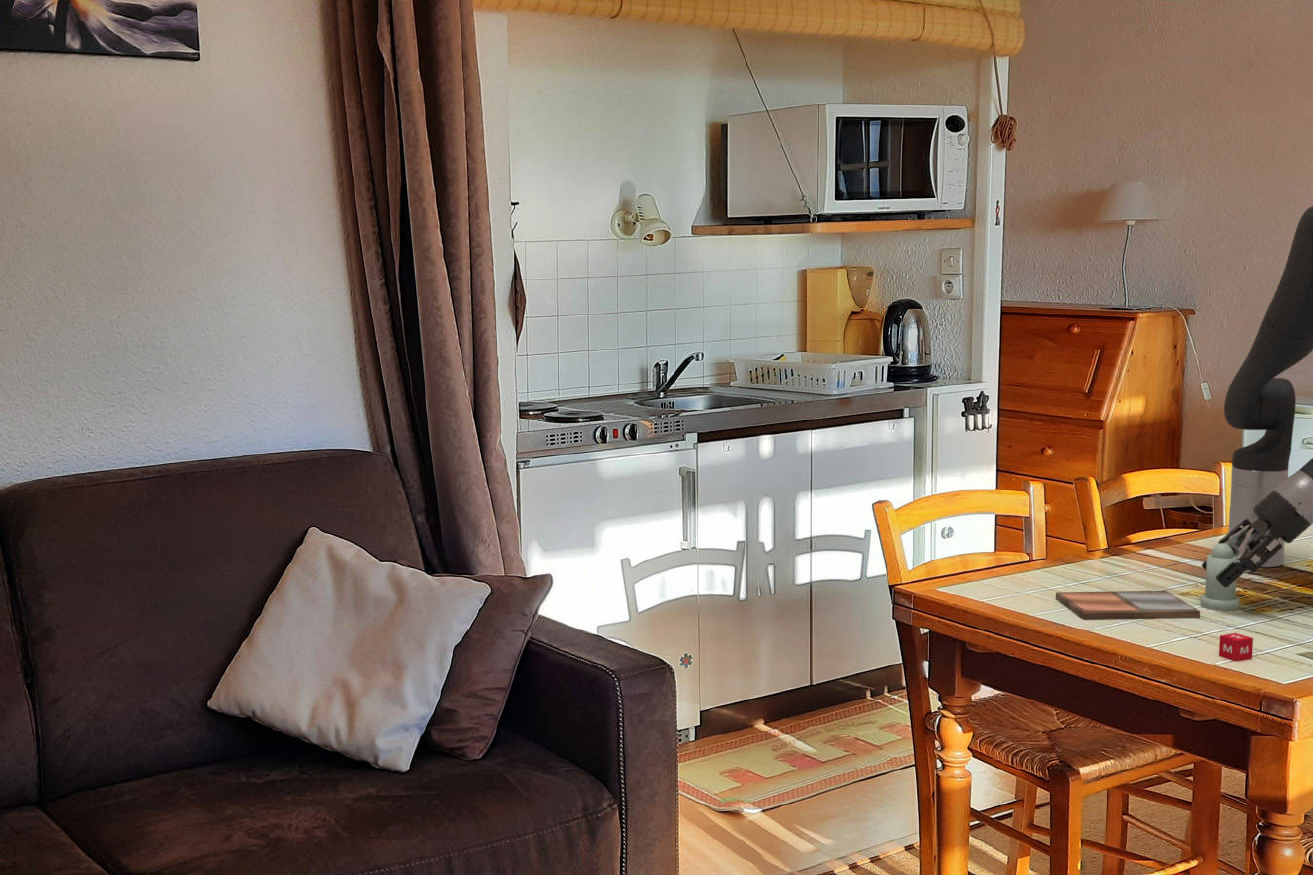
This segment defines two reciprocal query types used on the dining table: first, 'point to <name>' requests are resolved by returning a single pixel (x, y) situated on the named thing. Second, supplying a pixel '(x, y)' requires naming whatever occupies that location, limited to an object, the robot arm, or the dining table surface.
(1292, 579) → the dining table surface
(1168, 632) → the dining table surface
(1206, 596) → the pawn
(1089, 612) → the brown flat rectangular board
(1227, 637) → the dice
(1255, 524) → the robot arm
